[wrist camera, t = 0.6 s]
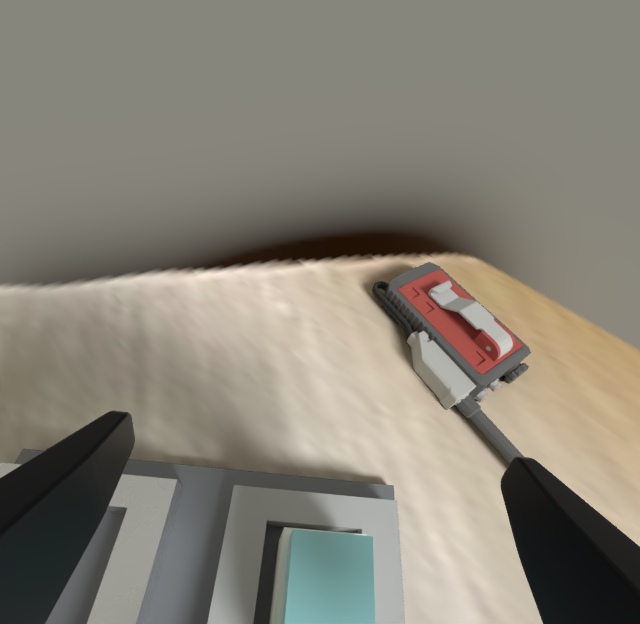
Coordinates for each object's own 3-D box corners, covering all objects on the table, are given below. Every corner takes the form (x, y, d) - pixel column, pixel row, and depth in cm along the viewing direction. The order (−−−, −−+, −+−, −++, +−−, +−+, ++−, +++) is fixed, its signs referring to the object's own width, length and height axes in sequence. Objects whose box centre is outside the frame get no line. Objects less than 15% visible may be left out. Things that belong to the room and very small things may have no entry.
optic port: (183, 488, 21) (177, 479, 19) (114, 740, 15) (97, 758, 13) (19, 472, 20) (-1, 462, 18) (-122, 729, 14) (-170, 746, 12)
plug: (340, 548, 20) (378, 527, 14) (338, 675, 17) (386, 725, 10) (277, 542, 20) (287, 519, 13) (263, 671, 16) (267, 719, 10)
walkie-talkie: (350, 303, 33) (530, 513, 23) (361, 269, 29) (576, 499, 20) (418, 273, 36) (595, 442, 27) (434, 239, 33) (644, 421, 24)
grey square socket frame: (386, 507, 21) (397, 500, 20) (399, 753, 15) (415, 771, 14) (235, 492, 21) (234, 485, 19) (188, 743, 15) (180, 761, 13)
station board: (389, 488, 23) (393, 485, 22) (407, 792, 15) (413, 800, 15) (30, 452, 21) (23, 448, 21) (-146, 771, 14) (-165, 779, 13)
